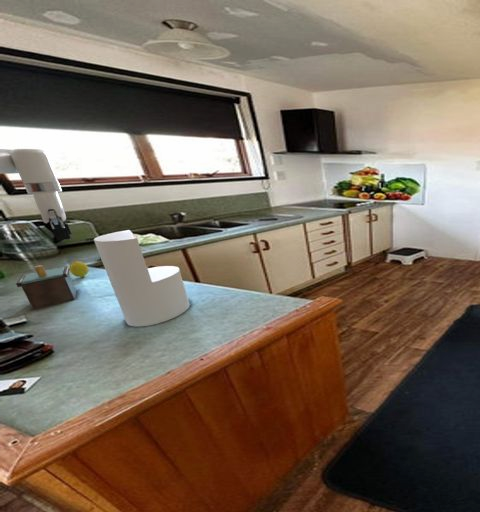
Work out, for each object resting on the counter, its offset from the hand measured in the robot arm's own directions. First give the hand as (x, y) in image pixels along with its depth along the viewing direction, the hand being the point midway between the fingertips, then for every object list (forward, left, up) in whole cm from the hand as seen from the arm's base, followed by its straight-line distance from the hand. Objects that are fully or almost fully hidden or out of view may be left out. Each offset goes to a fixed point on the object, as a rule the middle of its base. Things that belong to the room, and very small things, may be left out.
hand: (64, 237), depth 97 cm
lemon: (-3, +35, -25) cm, 43 cm away
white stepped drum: (+17, -34, -25) cm, 46 cm away
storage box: (-10, +9, -25) cm, 28 cm away
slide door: (-9, +9, -15) cm, 20 cm away
